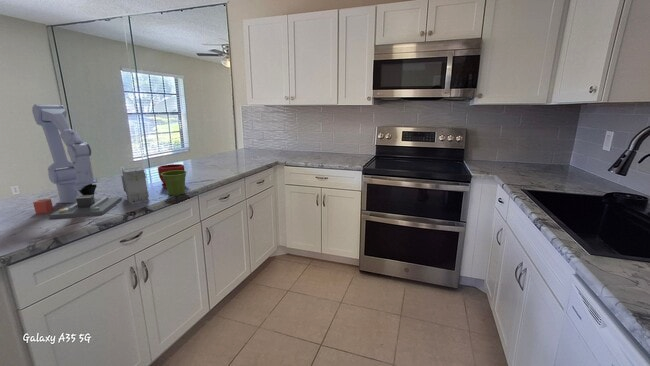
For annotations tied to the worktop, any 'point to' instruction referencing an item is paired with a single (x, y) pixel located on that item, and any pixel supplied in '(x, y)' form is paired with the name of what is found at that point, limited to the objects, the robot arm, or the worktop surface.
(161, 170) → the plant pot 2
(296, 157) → the worktop surface
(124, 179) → the circuit breaker
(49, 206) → the red rectangular block
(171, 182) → the plant pot
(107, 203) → the breaker panel
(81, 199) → the breaker handle
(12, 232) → the worktop surface
